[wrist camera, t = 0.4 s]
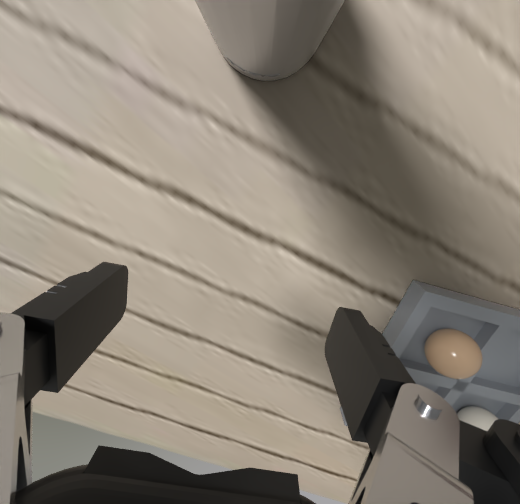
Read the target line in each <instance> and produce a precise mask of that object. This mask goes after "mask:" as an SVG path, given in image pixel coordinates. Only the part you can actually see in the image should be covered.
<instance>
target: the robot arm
mask: <svg viewBox="0 0 520 504" xmlns="http://www.w3.org/2000/svg"><path fill="white" fill-rule="evenodd" d="M195 1H196V3H197V5H198V7H199V9H200V12H201V14H202V16H203V18H204V20H205V22H206V24H207V26H208V28H209V30H210V32H211V34H212V36H213V38H214V40H215V42H216V44H217V46H218V48H219V50H220V51H221V53H222V55H223V56H224V58H225V59H226V60H227V61H228V62H229V63H230V65H231V66H232V67H234V68H235V69H236V70H238V71H239V72H240V73H241V74H244V75H246V76H248V77H250V78H252V79H257V80H261V81H274V80H279V79H282V78H286V77H288V76H290V75H292V74H293V73H295V72H297V71H298V70H299V69H301V68H302V67H303V66H304V65H305V64H306V63H307V62H308V61H309V60H310V58H311V57H312V56H313V54H314V53H315V52H316V50H317V48H318V47H319V45H320V43H321V41H322V39H323V38H324V36H325V34H326V33H327V31H328V29H329V28H330V26H331V24H332V22H333V20H334V19H335V17H336V15H337V13H338V12H339V10H340V8H341V6H342V5H343V3H344V1H345V0H195ZM127 285H128V268H127V267H126V266H124V265H119V264H114V263H108V262H102V263H101V264H99V265H98V266H96V267H95V268H93V269H92V270H90V271H89V272H83V273H80V274H77V275H73V276H70V277H68V278H66V279H65V280H63V281H62V282H60V283H58V284H57V286H54V287H52V288H51V289H49V290H47V292H44V293H43V294H41V295H39V296H38V297H36V298H35V299H33V300H31V301H30V302H28V303H27V304H25V305H23V306H22V307H20V308H19V309H17V310H15V311H14V312H12V313H0V504H316V503H314V502H312V501H311V500H309V499H308V498H306V497H304V496H302V495H300V492H299V484H298V475H297V474H290V473H283V472H276V471H269V470H263V469H256V468H245V469H238V470H232V471H225V472H219V473H212V474H205V475H197V474H193V473H191V472H189V471H187V470H185V469H182V468H180V467H178V466H176V465H174V464H172V463H169V462H167V461H165V460H163V459H161V458H159V457H157V456H155V455H153V454H151V453H146V452H139V451H133V450H126V449H119V448H112V447H105V446H98V448H97V449H96V451H95V453H94V455H93V457H92V458H91V460H90V462H89V464H88V465H81V466H77V467H73V468H69V469H65V470H62V471H59V472H56V473H54V474H51V475H48V476H46V477H44V478H42V479H40V480H37V481H35V482H33V483H32V398H33V397H34V396H35V395H36V394H37V393H38V392H39V391H40V390H43V391H50V392H56V393H58V392H59V391H60V390H61V389H62V387H63V386H64V385H65V384H66V383H67V382H68V380H69V379H70V378H71V377H72V376H73V375H74V374H75V372H76V371H77V370H78V369H79V368H80V367H81V365H82V364H83V363H84V362H85V361H86V360H87V358H88V357H89V356H90V355H91V354H92V353H93V351H94V350H95V349H96V348H97V347H98V346H99V344H100V343H101V342H102V341H103V340H104V339H105V337H106V336H107V335H108V334H109V333H110V332H111V330H112V329H113V328H114V327H115V326H116V325H117V323H118V322H119V321H120V320H121V318H122V317H123V314H124V312H125V309H126V304H127ZM325 357H326V360H327V363H328V366H329V369H330V372H331V376H332V379H333V382H334V385H335V388H336V391H337V394H338V397H339V401H340V404H341V407H342V410H343V413H344V416H345V419H346V422H347V425H348V429H349V432H350V435H351V438H352V440H353V441H360V442H366V443H368V445H369V447H370V451H369V453H368V455H367V457H366V459H365V462H364V464H363V467H362V469H361V472H360V475H359V477H358V480H357V482H356V485H355V488H354V490H353V493H352V495H351V498H350V501H349V503H348V504H520V425H519V424H517V423H514V422H512V421H509V420H504V419H498V420H495V421H494V423H493V424H492V425H491V427H490V428H489V430H488V431H485V430H483V429H480V428H478V427H476V426H473V425H471V424H468V423H466V422H463V421H461V420H459V418H458V415H457V414H456V412H455V410H454V409H453V408H452V407H451V405H450V404H449V403H448V402H447V401H446V400H444V399H443V398H442V397H441V396H439V395H438V394H437V393H435V392H433V391H432V390H430V389H428V388H426V387H424V386H421V385H418V384H416V383H415V382H414V380H413V379H412V377H411V376H410V374H409V373H408V371H407V370H406V368H405V367H404V365H403V364H402V363H401V361H400V360H399V358H398V357H397V356H396V354H395V352H394V351H393V349H392V348H390V345H389V343H388V342H387V340H386V339H385V338H384V336H383V335H382V334H381V333H380V332H378V331H377V330H376V329H375V328H374V327H373V326H370V325H369V323H368V322H367V320H366V319H365V317H364V316H363V314H362V313H361V311H359V310H354V309H348V308H343V307H339V308H338V310H337V311H336V314H335V317H334V319H333V322H332V325H331V328H330V331H329V334H328V337H327V339H326V343H325Z"/></svg>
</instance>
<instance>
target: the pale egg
mask: <svg viewBox="0 0 520 504" xmlns="http://www.w3.org/2000/svg"><path fill="white" fill-rule="evenodd" d="M457 415H458V418H459V420H461V421H463V422H466V423H468V424H471V425H473V426H476V427H478V428H480V429H483V430H485V431H488V430H489V428H490V427H491V425H492V424H493V423H494V421H495V420H498V418H497V417H496V416H495V415H494V414H492V413H491V412H489V411H488V410H486V409H483V408H481V407H476V406H468V407H465V408H462V409H461V410H460V411H459V412H458V413H457Z"/></svg>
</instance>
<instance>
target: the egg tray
mask: <svg viewBox="0 0 520 504" xmlns="http://www.w3.org/2000/svg"><path fill="white" fill-rule="evenodd" d="M447 328H449V329H456V330H459V331H462V332H464V333H466V334H467V335H469V336H470V337H471V338H473V339H474V340H475V342H476V343H477V344H478V346H479V347H480V349H481V352H482V358H483V361H482V366H481V368H480V370H479V371H478V372H477V373H476V374H475V375H473V376H471V377H469V378H466V379H453V378H449V377H446V376H444V375H442V374H440V373H439V372H437V371H436V370H435V369H434V368H433V367H432V366H431V365H430V364H429V362H428V360H427V358H426V356H425V351H424V346H425V342H426V340H427V338H428V337H429V335H430V334H432V333H433V332H435V331H437V330H440V329H447ZM382 335H383V336H384V338H385V339H386V340H387V342H388V343H389V345H390V348H392V349H393V351H394V352H395V354H396V356H397V357H398V358H399V360H400V361H401V363H402V364H403V365H404V367H405V368H406V370H407V371H408V373H409V374H410V376H411V377H412V379H413V380H414V382H415V383H416V384H418V385H421V386H424V387H426V388H428V389H430V390H432V391H433V392H435V393H437V394H438V395H439V396H441V397H442V398H443V399H444V400H446V401H447V402H448V403H449V404H450V405H451V407H452V408H453V409H454V410H455V412H456V414H457V413H458V412H459V411H460V410H461V409H462V408H465V407H468V406H476V407H481V408H483V409H486V410H488V411H489V412H491V413H492V414H494V415H495V416H496V417H497V418H498V419H504V420H509V421H512V422H514V423H517V424H518V423H519V422H520V310H519V309H515V308H512V307H508V306H505V305H501V304H497V303H494V302H490V301H487V300H483V299H480V298H476V297H472V296H469V295H465V294H462V293H458V292H455V291H451V290H447V289H444V288H440V287H437V286H433V285H430V284H426V283H422V282H419V281H415V280H413V281H412V283H411V284H410V286H409V288H408V290H407V291H406V293H405V295H404V297H403V298H402V300H401V302H400V304H399V305H398V307H397V309H396V311H395V312H394V314H393V316H392V318H391V319H390V321H389V323H388V325H387V326H386V328H385V330H384V332H383V334H382ZM340 410H341V414H342V417H343V421H344V424H345V425H346V426H348V425H347V422H346V419H345V416H344V413H343V410H342V407H340Z"/></svg>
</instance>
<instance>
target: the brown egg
mask: <svg viewBox="0 0 520 504" xmlns="http://www.w3.org/2000/svg"><path fill="white" fill-rule="evenodd" d="M424 351H425V356H426V358H427V360H428V362H429V364H430V365H431V366H432V367H433V368H434V369H435V370H436V371H437V372H439V373H440V374H442V375H444V376H446V377H449V378H453V379H466V378H469V377H471V376H473V375H475V374H476V373H477V372H478V371H479V370H480V368H481V366H482V361H483V358H482V352H481V349H480V347H479V346H478V344H477V343H476V342H475V340H474V339H473V338H471V337H470V336H469V335H467V334H466V333H464V332H462V331H459V330H456V329H449V328H447V329H440V330H437V331H435V332H433V333H432V334H430V335H429V337H428V338H427V340H426V342H425V346H424Z"/></svg>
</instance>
